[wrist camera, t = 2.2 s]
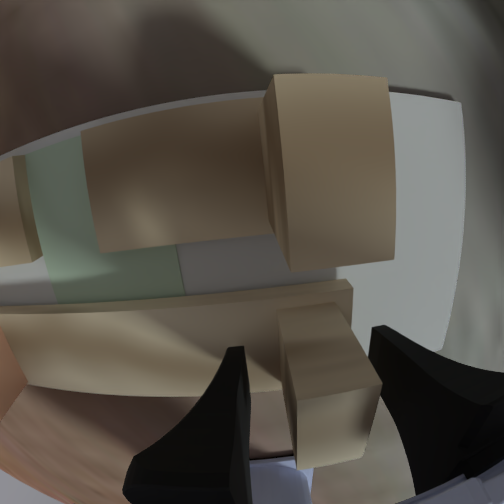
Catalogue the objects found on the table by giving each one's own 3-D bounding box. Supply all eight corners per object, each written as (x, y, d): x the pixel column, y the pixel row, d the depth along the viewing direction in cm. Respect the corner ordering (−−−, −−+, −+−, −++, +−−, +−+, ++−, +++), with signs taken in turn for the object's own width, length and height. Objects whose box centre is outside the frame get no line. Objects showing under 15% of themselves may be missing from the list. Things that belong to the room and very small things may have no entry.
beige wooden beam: (340, 366, 14) (379, 458, 8) (-12, 366, 14) (-52, 415, 8) (345, 278, 13) (410, 363, 7) (-40, 306, 12) (-91, 349, 7)
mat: (438, 345, 15) (442, 350, 15) (-8, 369, 15) (-11, 373, 15) (456, 103, 11) (462, 102, 10) (-66, 193, 11) (-71, 194, 10)
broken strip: (343, 220, 12) (420, 275, 6) (-49, 270, 12) (-105, 307, 6) (335, 99, 11) (414, 61, 5) (-64, 198, 10) (-126, 222, 5)
